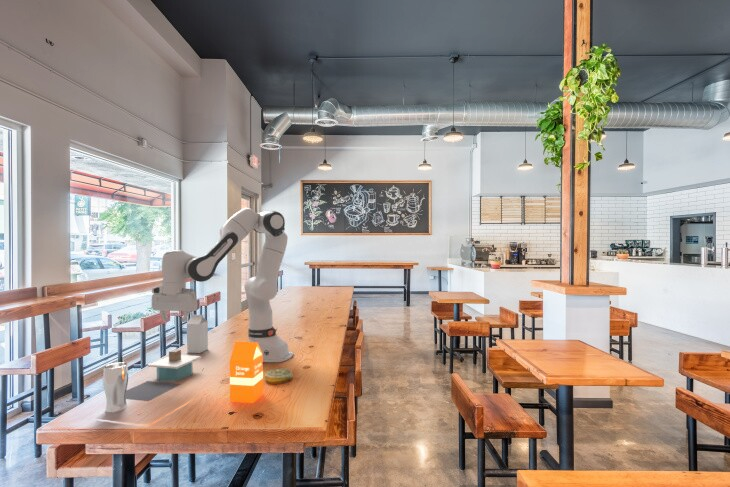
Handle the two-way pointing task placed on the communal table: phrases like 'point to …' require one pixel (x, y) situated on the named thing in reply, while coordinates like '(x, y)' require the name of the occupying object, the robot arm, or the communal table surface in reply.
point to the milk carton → (197, 334)
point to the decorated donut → (278, 376)
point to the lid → (174, 360)
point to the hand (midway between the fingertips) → (175, 321)
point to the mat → (149, 390)
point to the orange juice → (246, 372)
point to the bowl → (174, 373)
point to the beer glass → (115, 386)
